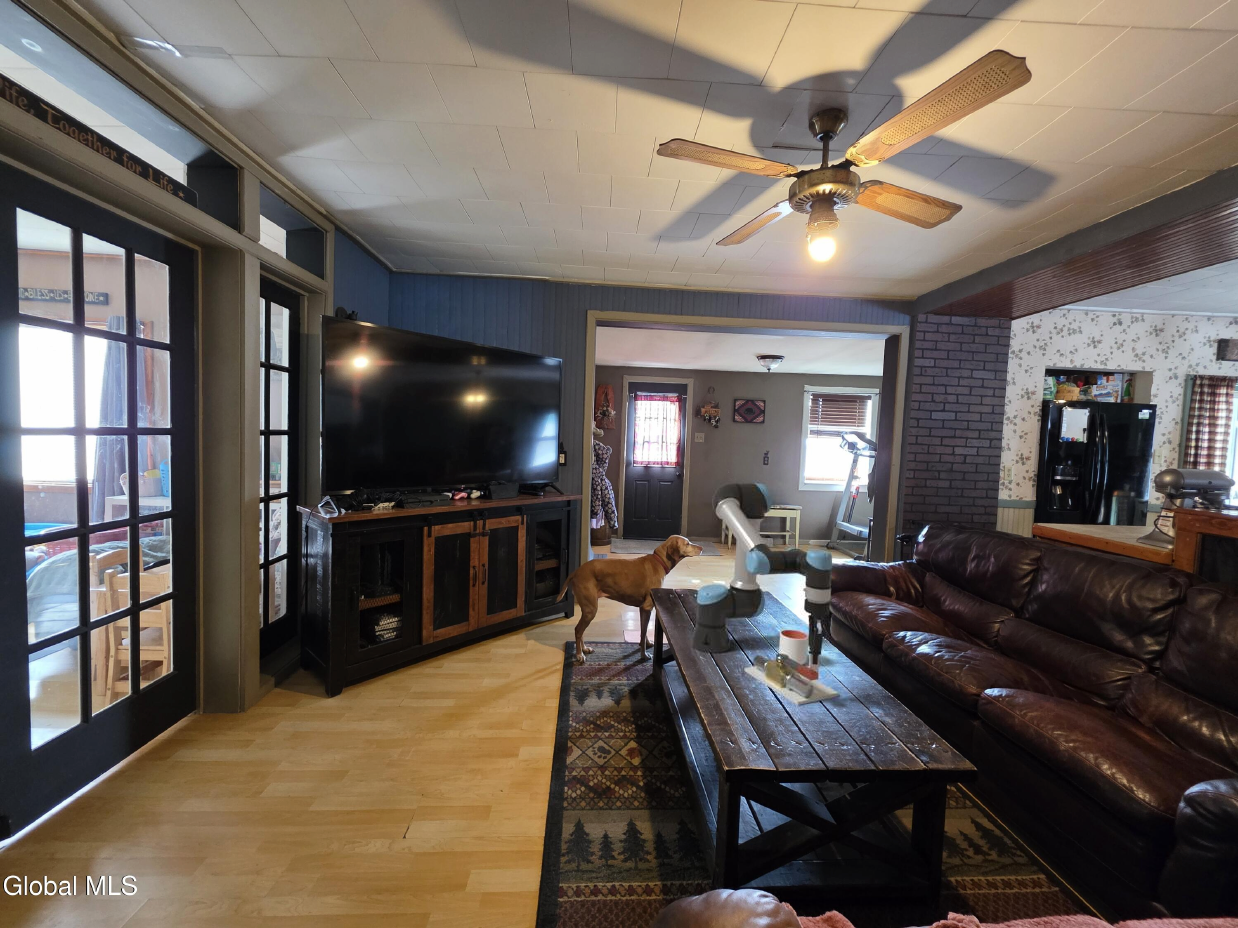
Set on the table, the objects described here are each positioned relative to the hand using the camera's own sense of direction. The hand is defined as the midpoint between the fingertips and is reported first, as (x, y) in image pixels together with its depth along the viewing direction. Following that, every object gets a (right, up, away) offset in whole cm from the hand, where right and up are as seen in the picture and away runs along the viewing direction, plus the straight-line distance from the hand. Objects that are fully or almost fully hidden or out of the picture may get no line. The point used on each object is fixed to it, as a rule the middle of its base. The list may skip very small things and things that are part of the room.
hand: (813, 672), depth 168 cm
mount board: (-4, -8, +10) cm, 14 cm away
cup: (+3, -7, +29) cm, 30 cm away
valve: (-8, -8, +9) cm, 14 cm away
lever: (-5, 0, +3) cm, 6 cm away
